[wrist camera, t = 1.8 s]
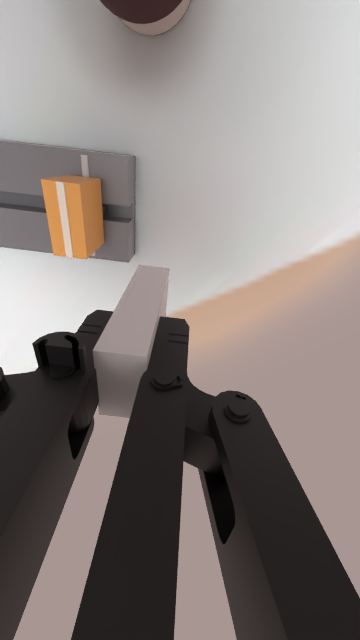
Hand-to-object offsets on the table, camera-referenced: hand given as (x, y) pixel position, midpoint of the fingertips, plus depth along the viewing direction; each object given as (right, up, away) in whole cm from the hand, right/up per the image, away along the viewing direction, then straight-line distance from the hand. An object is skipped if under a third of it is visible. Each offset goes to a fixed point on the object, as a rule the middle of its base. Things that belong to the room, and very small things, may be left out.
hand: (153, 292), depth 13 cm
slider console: (-16, +12, +15) cm, 25 cm away
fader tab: (-8, +10, +14) cm, 19 cm away
